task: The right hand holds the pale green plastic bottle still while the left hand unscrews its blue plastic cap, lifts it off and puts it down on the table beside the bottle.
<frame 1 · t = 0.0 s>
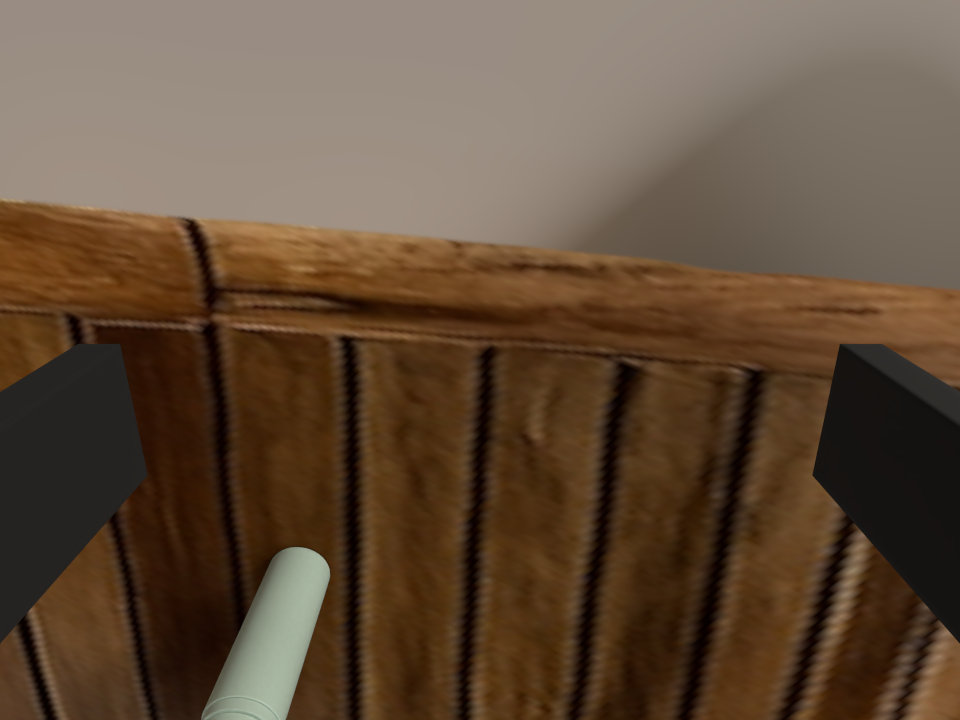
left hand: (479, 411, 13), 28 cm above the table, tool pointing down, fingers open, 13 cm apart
bottle: (299, 571, 48), on the table
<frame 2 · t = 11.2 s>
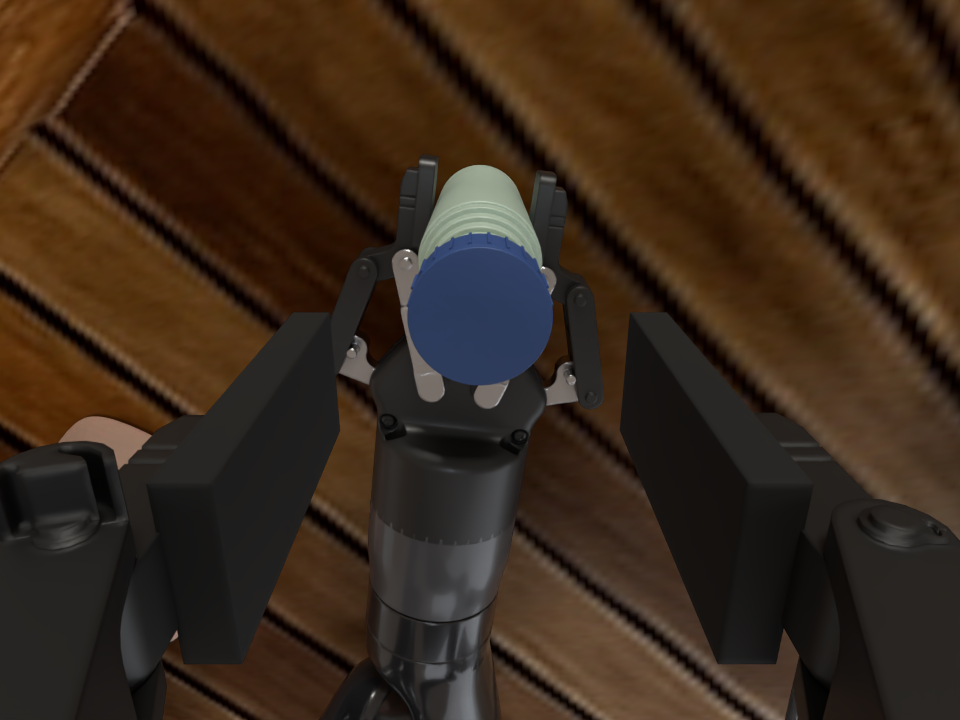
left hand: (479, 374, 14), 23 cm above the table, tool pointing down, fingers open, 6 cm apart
right hand: (487, 166, 28), fingers closed on bottle, 4 cm apart
bottle: (479, 207, 35), on the table, touching right hand
cap: (480, 315, 18), point 19 cm above the table, screwed on, not yet turned
anatomical model: (135, 514, 42), on the table
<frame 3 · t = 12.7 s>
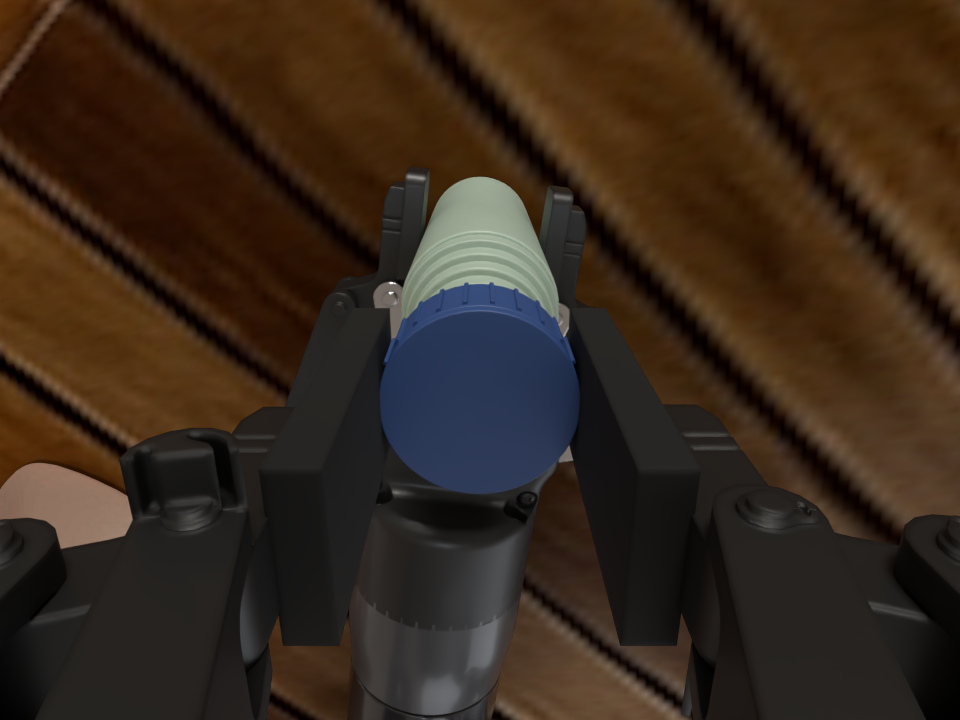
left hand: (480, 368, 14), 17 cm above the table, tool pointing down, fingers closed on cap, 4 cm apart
bottle: (479, 226, 30), on the table, touching right hand
cap: (479, 400, 13), point 19 cm above the table, screwed on, not yet turned, touching left hand
anatomical model: (88, 570, 37), on the table
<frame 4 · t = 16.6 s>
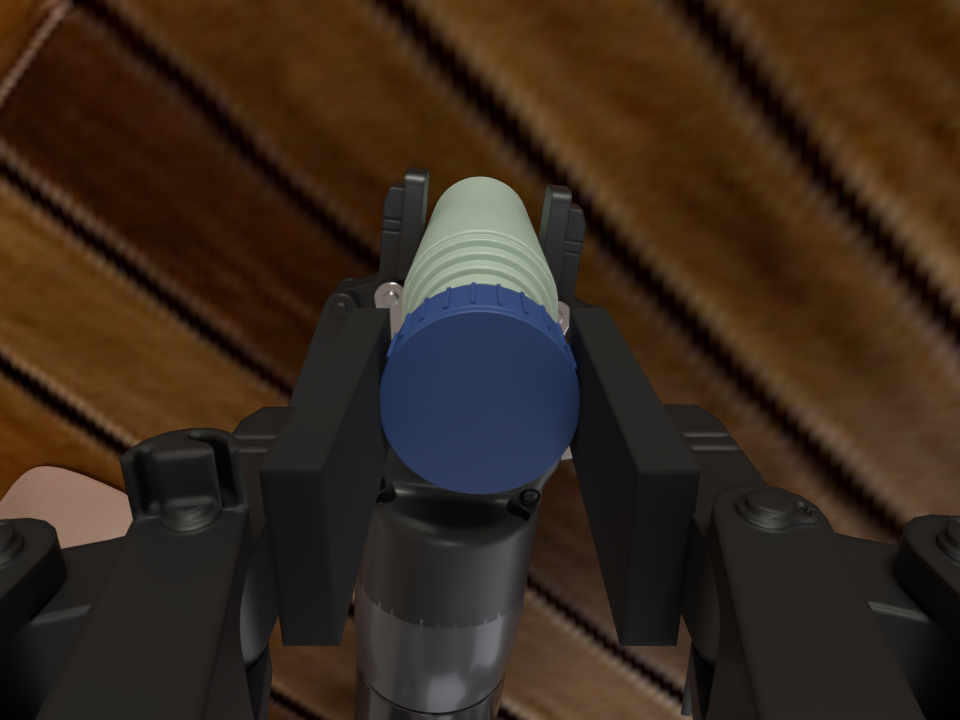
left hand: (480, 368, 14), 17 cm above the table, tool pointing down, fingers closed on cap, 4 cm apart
bottle: (479, 226, 30), on the table, touching right hand
cap: (479, 401, 13), point 19 cm above the table, turned 130° so far, risen 0.1 cm, still on its thread, touching left hand
anatomical model: (95, 572, 37), on the table
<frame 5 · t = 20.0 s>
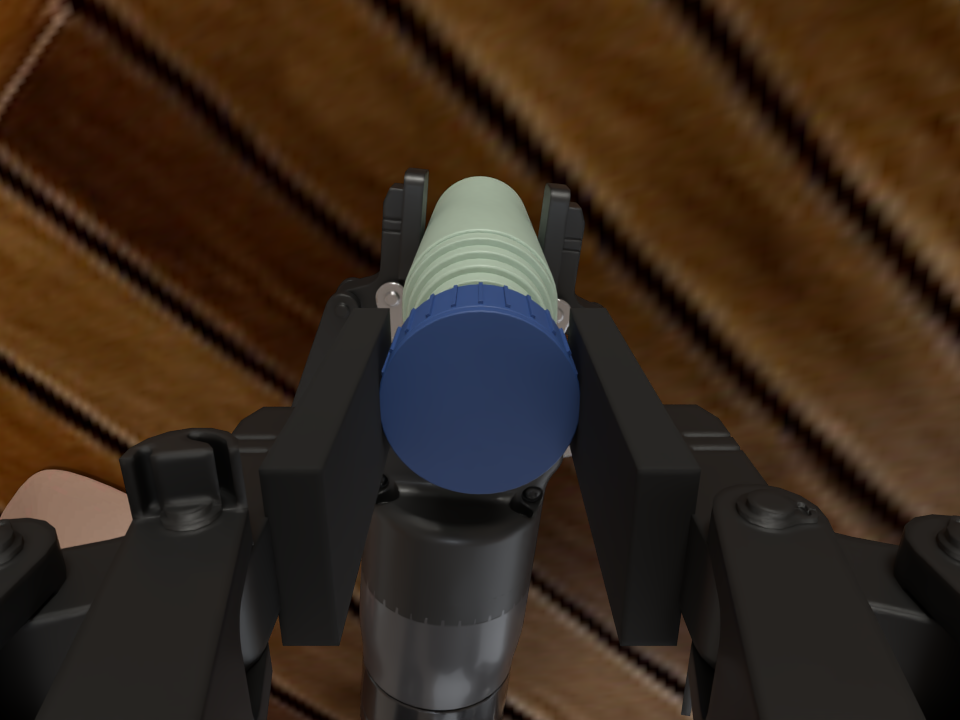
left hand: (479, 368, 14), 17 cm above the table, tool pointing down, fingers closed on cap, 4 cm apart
bottle: (479, 225, 30), on the table, touching right hand
cap: (479, 401, 13), point 19 cm above the table, turned 260° so far, risen 0.3 cm, still on its thread, touching left hand
anatomical model: (102, 574, 38), on the table
when the left hand's fingers open (1 cm above the table, at t = 30.8 s): cap stays where it is, point 2 cm above the table.
when the right hand's fingers open (6 cm above the table, at t = 32.1 s): bottle stays where it is, on the table.
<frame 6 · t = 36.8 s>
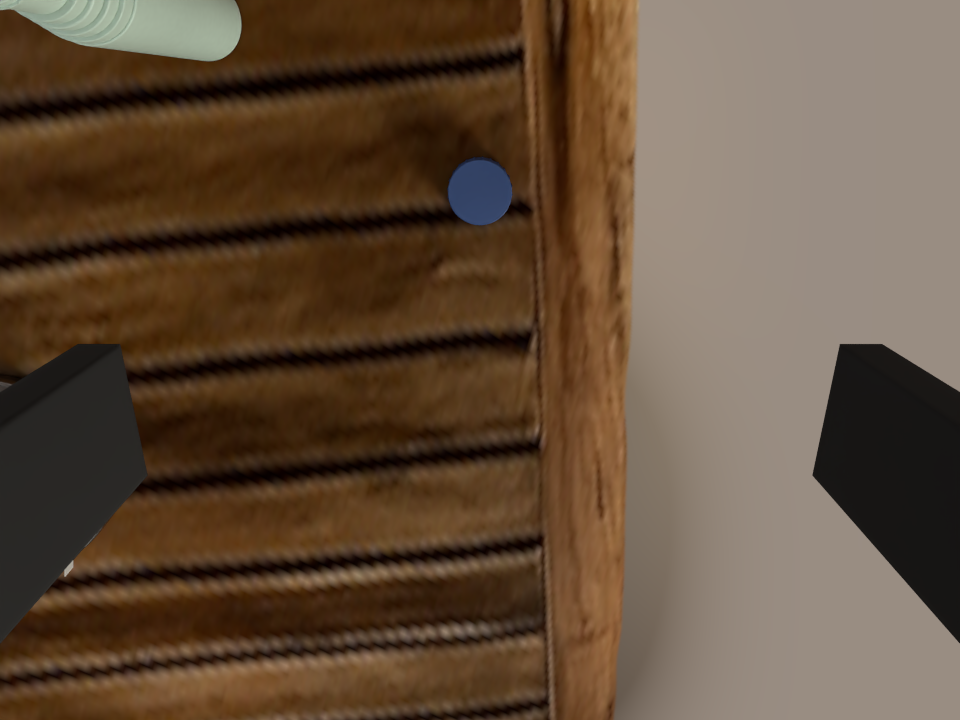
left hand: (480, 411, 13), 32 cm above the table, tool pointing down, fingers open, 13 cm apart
bottle: (203, 19, 38), on the table
cap: (479, 192, 41), point 2 cm above the table, off its thread
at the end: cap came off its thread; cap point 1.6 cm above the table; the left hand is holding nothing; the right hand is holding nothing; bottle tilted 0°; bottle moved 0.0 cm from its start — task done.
